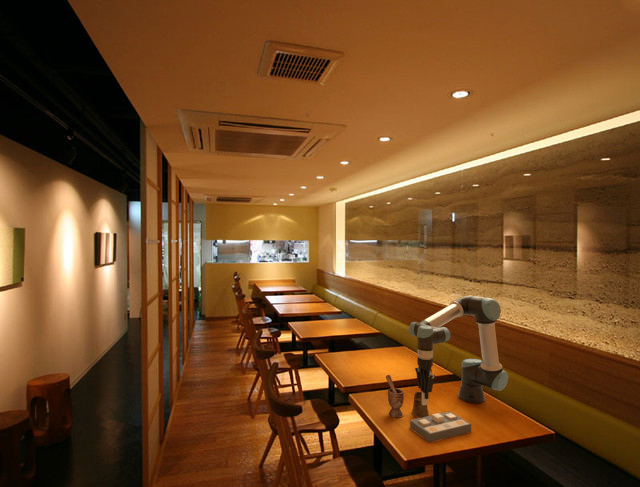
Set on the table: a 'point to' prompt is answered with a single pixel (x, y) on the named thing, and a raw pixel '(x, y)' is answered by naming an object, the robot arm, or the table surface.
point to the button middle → (437, 418)
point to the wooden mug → (419, 406)
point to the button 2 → (450, 416)
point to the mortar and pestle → (395, 399)
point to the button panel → (440, 428)
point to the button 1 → (424, 422)
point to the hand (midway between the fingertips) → (424, 404)
